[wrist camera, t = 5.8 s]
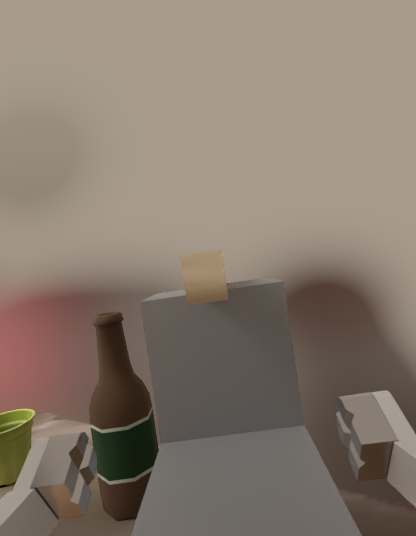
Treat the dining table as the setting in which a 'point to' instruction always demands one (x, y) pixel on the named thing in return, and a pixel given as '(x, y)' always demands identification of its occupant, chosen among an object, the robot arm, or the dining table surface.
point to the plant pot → (14, 443)
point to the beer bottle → (121, 423)
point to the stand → (232, 422)
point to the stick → (204, 277)
